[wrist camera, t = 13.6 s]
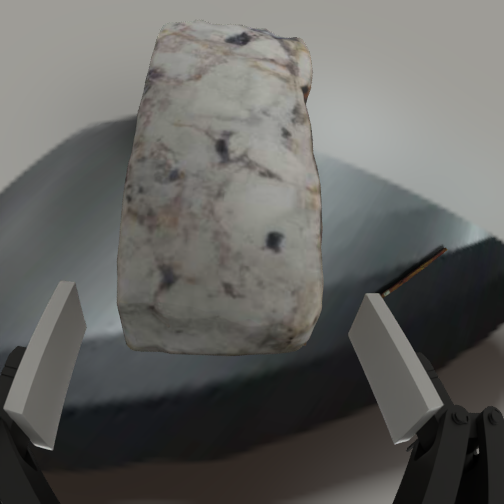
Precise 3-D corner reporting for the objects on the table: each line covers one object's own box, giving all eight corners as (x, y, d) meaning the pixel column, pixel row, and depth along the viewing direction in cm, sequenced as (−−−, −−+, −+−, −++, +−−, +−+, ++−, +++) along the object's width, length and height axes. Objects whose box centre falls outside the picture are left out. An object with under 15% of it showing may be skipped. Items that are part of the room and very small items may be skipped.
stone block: (166, 194, 29) (142, 11, 10) (240, 191, 30) (306, 18, 11) (172, 340, 26) (115, 377, 7) (252, 334, 27) (378, 349, 8)
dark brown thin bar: (442, 247, 39) (447, 246, 38) (443, 250, 39) (448, 249, 38) (368, 301, 35) (373, 300, 34) (370, 304, 35) (374, 304, 34)
